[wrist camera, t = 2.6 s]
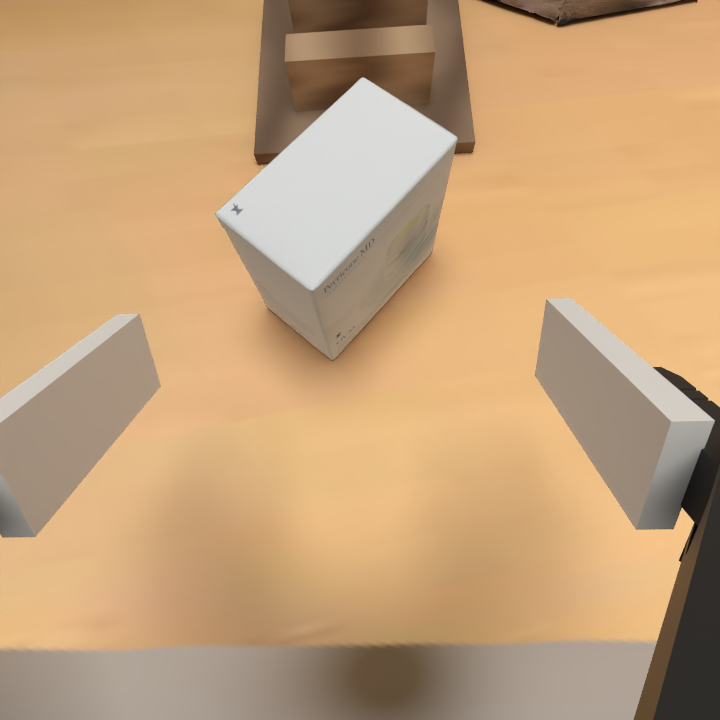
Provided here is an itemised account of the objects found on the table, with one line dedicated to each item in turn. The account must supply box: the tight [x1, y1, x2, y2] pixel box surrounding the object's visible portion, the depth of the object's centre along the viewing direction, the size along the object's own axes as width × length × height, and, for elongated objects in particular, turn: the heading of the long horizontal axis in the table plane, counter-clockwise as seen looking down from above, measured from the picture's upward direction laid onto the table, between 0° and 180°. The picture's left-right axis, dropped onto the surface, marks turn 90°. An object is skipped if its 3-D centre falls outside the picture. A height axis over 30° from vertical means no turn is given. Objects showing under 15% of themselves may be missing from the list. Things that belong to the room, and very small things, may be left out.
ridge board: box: [254, 0, 475, 164], centre depth 33 cm, size 16×16×5 cm
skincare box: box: [216, 78, 458, 360], centre depth 25 cm, size 10×6×10 cm, turn 139°
